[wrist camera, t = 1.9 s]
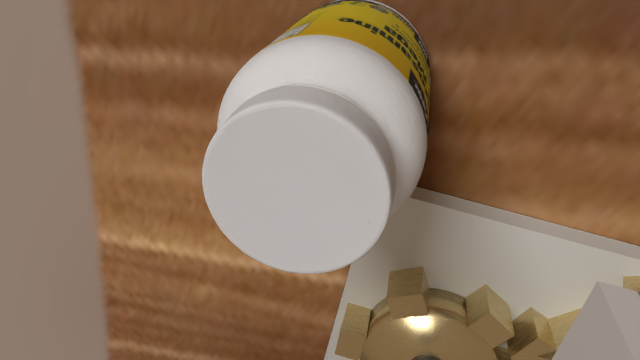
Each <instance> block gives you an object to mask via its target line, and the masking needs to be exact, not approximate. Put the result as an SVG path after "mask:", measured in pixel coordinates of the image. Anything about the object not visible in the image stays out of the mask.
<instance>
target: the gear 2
mask: <svg viewBox="0 0 640 360" xmlns="http://www.w3.org/2000/svg"><path fill="white" fill-rule="evenodd" d="M623 288H626V289H630V290H633V291H637V292H638V294H639V296H640V276H623ZM580 310H581V309H577V310H574V311H571V312H568V313H565V314H562V315H558V316H555V317H552V318H549V319H548V318H546V317H545V316H543V315H542V314H541V313H539V312H538V311H536V310H535V309H533V308H532V307H530V308H529V309H527V310H526V311H525V312H523V313H522V314H521V315H519V316H518V317H517V318H516V319H514V320H513V321H512V323H513V328H514V334H515V336H513V337H512V338H510V339H508V340H507V345H508V351H509V357H510V359H511V360H552V358H553V356H554V355H555V353H556V351H557V350H558V348H559V346H560V344H561V343H562V341H563V339H564V337H565V336H566V334H567V332H568V331H569V329H570V327H571V325H572V324H573V322H574V320H575V319H576V317H577V315H578V313H579V312H580Z"/></svg>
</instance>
